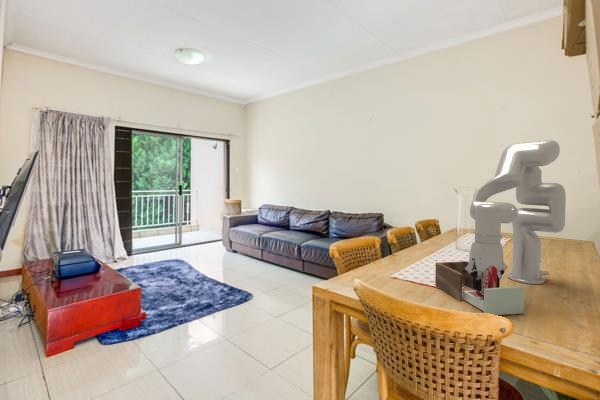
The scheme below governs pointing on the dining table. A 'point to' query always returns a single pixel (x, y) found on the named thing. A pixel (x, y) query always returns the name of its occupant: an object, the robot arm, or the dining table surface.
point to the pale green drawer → (498, 300)
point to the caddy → (453, 278)
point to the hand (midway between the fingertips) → (485, 288)
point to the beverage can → (488, 280)
